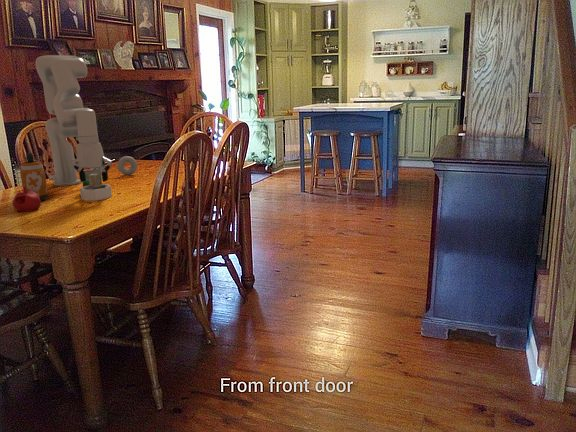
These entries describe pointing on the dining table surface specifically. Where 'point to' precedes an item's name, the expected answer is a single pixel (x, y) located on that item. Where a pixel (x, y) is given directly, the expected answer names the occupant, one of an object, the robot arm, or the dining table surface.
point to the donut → (127, 160)
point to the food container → (89, 172)
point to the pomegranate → (26, 200)
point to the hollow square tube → (95, 187)
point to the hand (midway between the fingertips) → (94, 180)
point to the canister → (34, 176)
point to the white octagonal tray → (95, 193)
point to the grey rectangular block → (94, 180)
